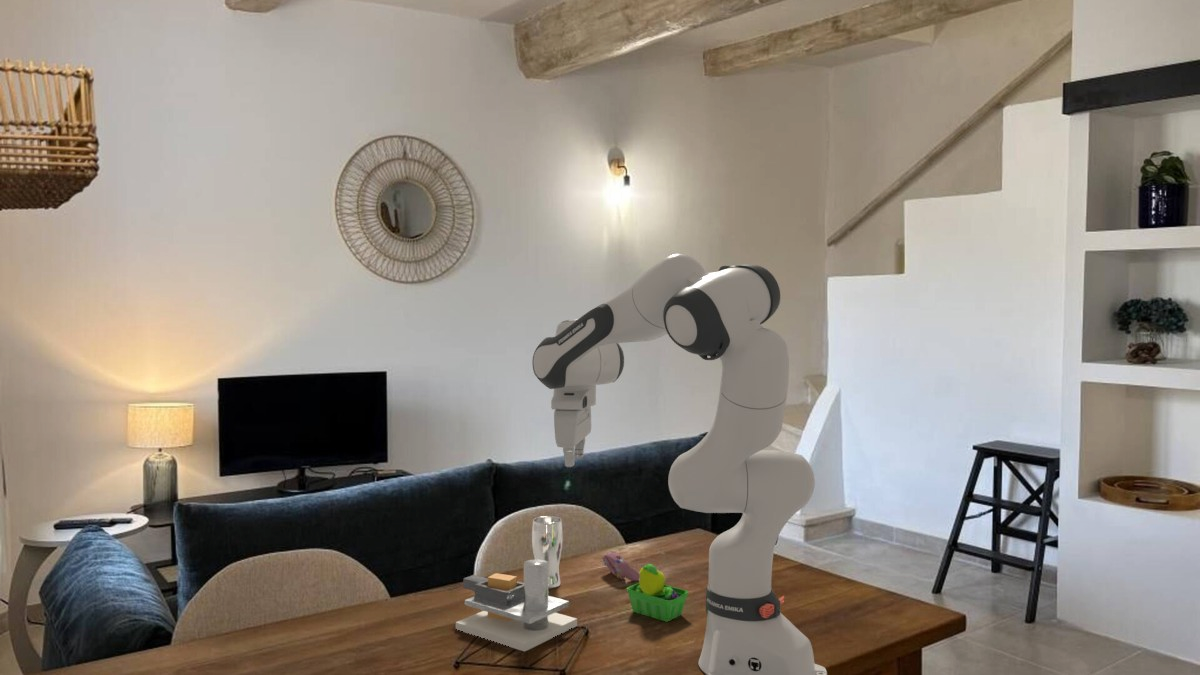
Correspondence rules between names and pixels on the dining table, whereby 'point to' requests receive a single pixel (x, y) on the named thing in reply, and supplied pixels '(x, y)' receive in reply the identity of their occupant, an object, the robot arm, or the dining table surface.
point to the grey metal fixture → (518, 597)
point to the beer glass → (548, 545)
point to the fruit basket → (656, 595)
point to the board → (514, 629)
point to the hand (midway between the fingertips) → (574, 461)
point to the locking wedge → (501, 587)
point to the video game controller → (620, 566)
